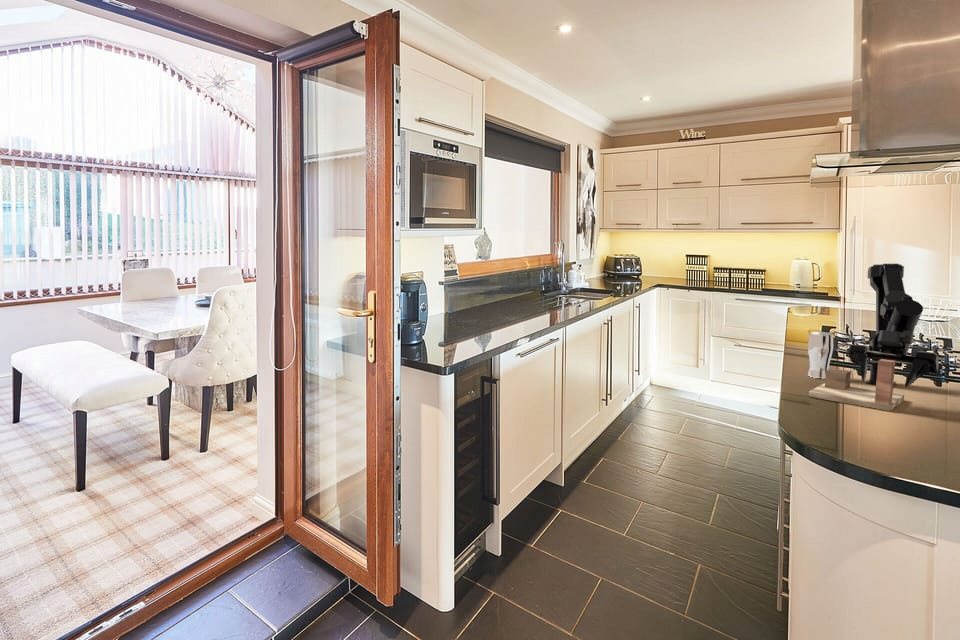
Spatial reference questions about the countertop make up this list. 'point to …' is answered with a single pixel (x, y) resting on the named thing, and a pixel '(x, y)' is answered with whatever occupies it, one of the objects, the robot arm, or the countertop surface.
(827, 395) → the board with upright post
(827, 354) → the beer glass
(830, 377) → the walnut cube
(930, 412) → the countertop surface
